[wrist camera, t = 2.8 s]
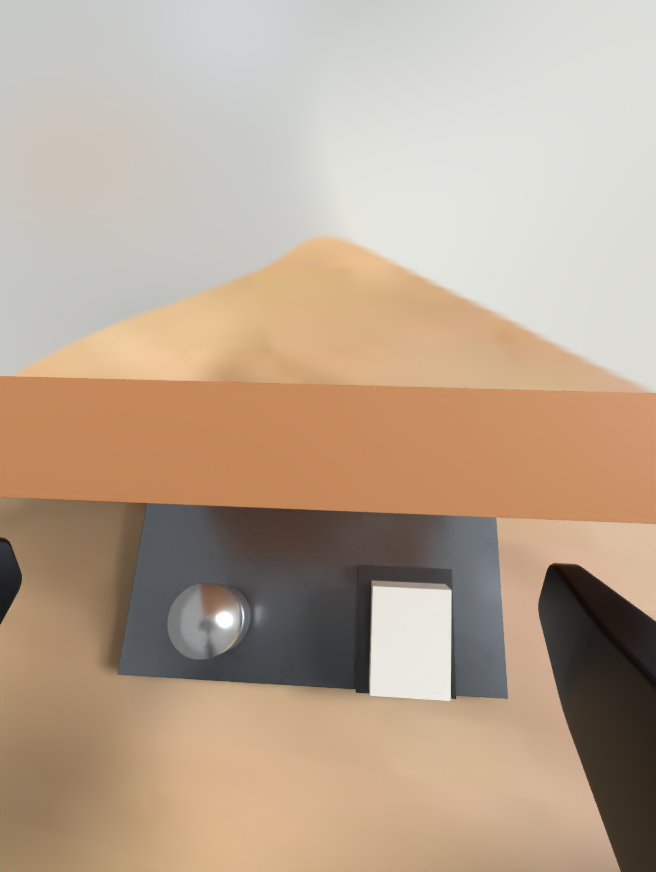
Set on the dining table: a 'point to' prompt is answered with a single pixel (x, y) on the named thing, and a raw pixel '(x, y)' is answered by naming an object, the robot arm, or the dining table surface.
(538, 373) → the dining table surface
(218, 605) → the metal button
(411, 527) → the panel
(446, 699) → the block
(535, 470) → the orange lever
